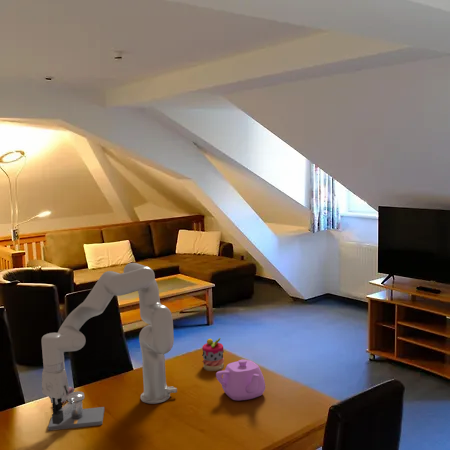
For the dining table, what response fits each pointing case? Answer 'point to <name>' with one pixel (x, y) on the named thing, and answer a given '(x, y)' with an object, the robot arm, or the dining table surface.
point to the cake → (213, 355)
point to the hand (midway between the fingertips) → (57, 412)
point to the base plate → (80, 419)
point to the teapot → (242, 380)
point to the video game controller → (69, 392)
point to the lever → (70, 408)
